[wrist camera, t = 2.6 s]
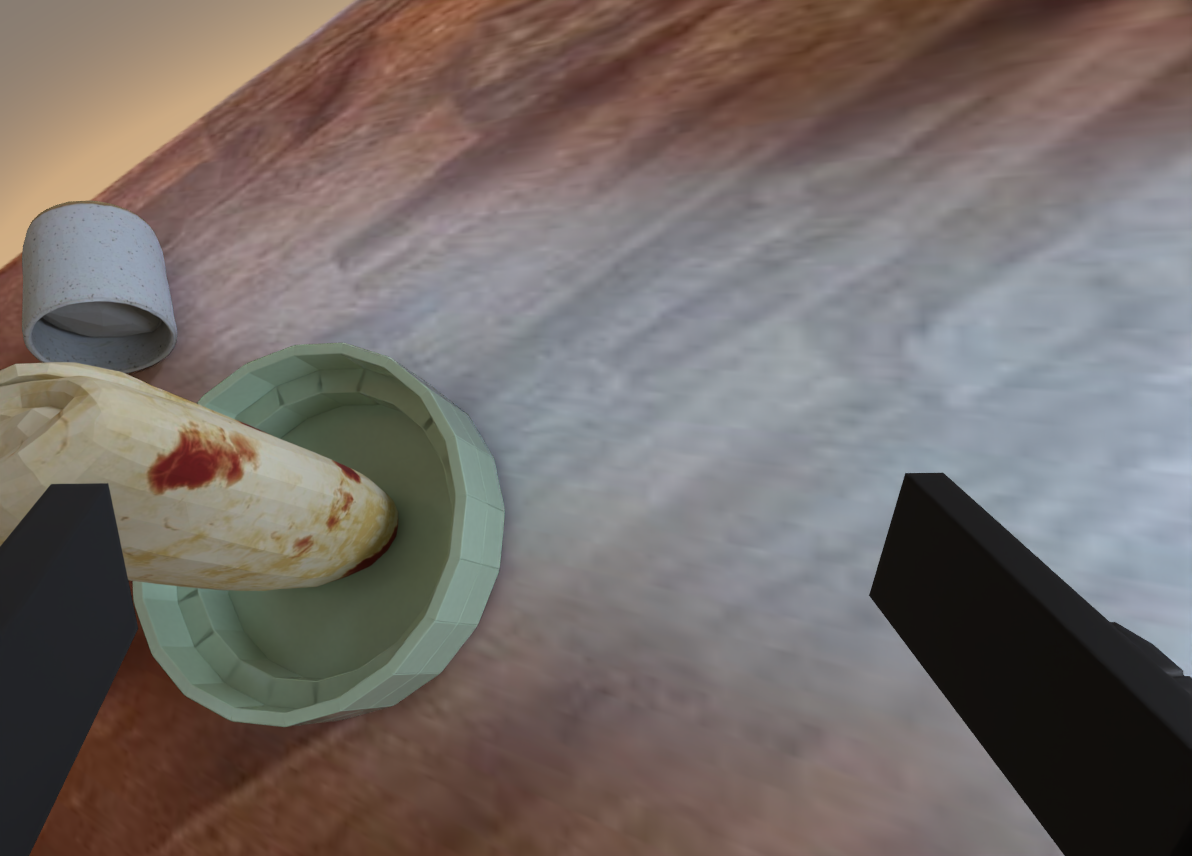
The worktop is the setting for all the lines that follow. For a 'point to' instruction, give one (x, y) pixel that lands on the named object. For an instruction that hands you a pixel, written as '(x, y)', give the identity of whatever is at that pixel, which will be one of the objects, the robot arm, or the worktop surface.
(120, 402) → the food model
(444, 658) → the bowl
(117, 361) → the ceramic mug
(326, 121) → the worktop surface
